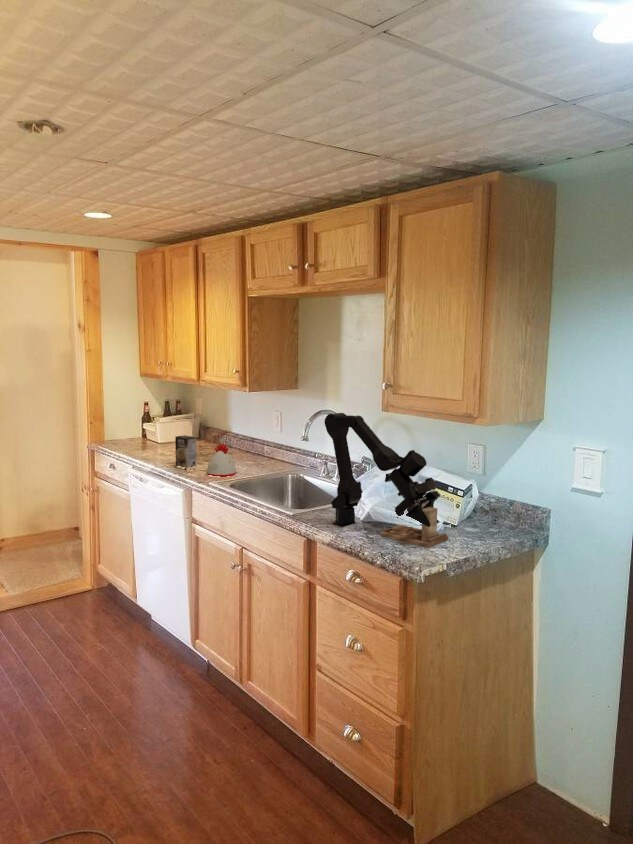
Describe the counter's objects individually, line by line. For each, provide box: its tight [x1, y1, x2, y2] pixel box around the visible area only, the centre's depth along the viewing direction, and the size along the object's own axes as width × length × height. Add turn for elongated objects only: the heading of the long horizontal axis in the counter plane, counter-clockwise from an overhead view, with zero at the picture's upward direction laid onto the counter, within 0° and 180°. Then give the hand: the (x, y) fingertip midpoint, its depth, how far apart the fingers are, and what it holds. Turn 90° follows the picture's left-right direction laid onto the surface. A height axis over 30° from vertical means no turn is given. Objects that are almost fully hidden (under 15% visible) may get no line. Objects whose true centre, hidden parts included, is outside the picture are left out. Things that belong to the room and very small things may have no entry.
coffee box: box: [174, 434, 197, 468], centre depth 326 cm, size 9×6×16 cm
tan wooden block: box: [421, 507, 439, 542], centre depth 206 cm, size 3×4×10 cm
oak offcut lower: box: [390, 531, 415, 538], centre depth 213 cm, size 6×6×1 cm
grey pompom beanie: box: [206, 443, 237, 477], centre depth 311 cm, size 14×14×15 cm
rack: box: [380, 524, 449, 549], centre depth 210 cm, size 18×12×3 cm, turn 48°
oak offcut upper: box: [391, 524, 412, 534], centre depth 213 cm, size 5×4×1 cm
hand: (433, 524), depth 205 cm, fingers closed on tan wooden block, 4 cm apart
